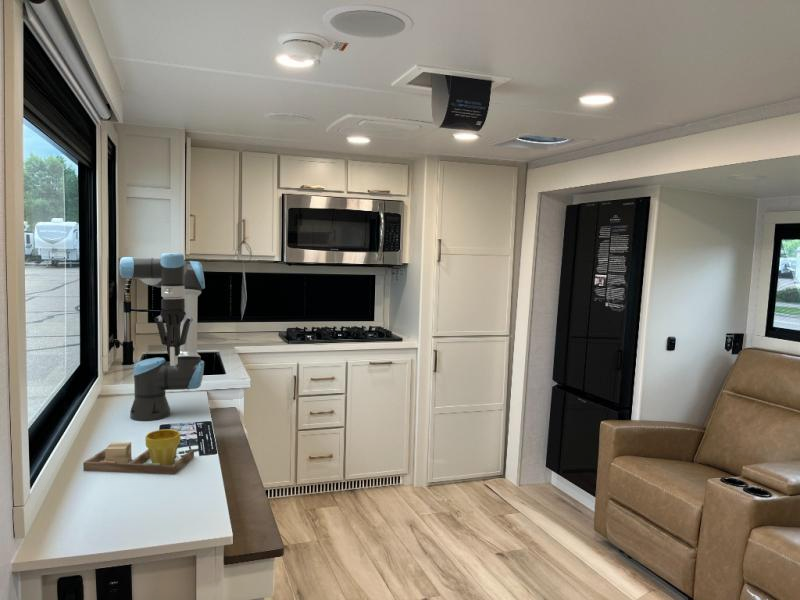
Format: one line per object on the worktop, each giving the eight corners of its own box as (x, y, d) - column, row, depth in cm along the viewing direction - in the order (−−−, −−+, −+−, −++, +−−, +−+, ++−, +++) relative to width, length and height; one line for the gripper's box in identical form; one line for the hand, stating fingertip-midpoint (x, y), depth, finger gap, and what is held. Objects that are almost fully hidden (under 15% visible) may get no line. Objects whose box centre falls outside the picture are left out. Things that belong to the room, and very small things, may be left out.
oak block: (112, 460, 192) (111, 442, 191) (131, 459, 192) (131, 442, 192) (105, 467, 186) (105, 448, 185) (125, 466, 186) (125, 448, 186)
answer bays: (109, 453, 197) (109, 444, 197) (193, 456, 196) (193, 448, 196) (83, 470, 182) (83, 461, 182) (174, 474, 181) (174, 465, 181)
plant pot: (168, 471, 184) (167, 440, 183) (139, 467, 186) (138, 437, 185) (186, 459, 194) (186, 430, 193) (159, 456, 196) (158, 427, 195)
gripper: (149, 298, 199) (150, 366, 201) (187, 299, 198) (187, 367, 201) (159, 296, 206) (160, 361, 209) (195, 297, 206) (196, 363, 208)
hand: (173, 364), depth 205 cm, fingers closed
